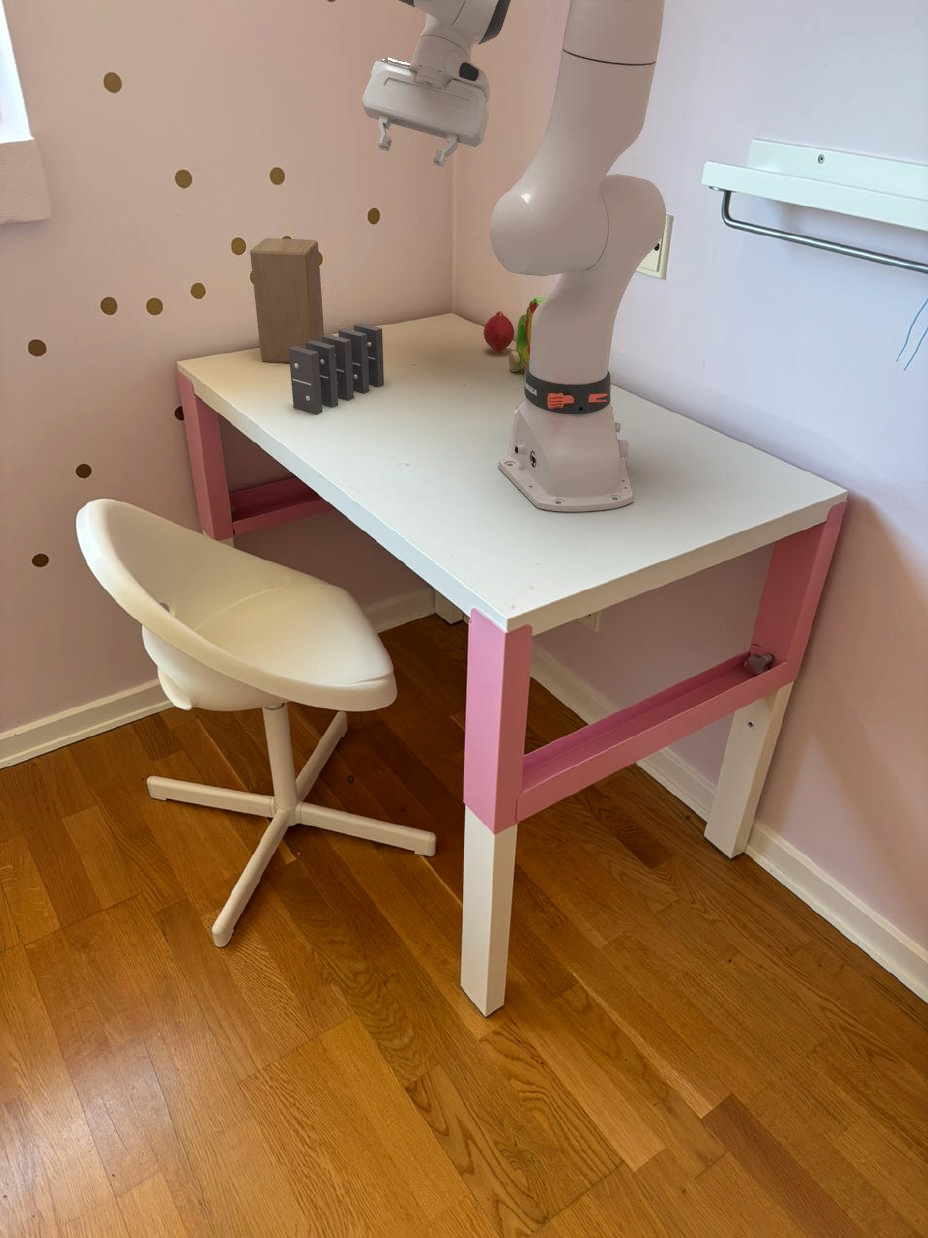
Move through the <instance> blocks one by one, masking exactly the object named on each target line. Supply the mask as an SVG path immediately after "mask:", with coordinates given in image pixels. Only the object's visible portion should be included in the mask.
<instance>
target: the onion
mask: <svg viewBox="0 0 928 1238" xmlns="http://www.w3.org/2000/svg"><path fill="white" fill-rule="evenodd" d="M483 337H484V340H485V342H486V344H487V345H488V346H489V347H490V348H492V350H494V352H496V353H501V352H502V351H504V350H505V349H507V348H508V346H509V345H510V344H511V343H512V342H513V341H514V339H515V338H514V337H515V329H514V326H513V323H512V322H511V320H510V318H508V317H507V316H506V315H504V313H503V311H502V310H497V312H496V314H495V315H493V316H491V317H490V318H489V319H488V321H487V322H486V324H485V325H484V328H483Z"/></svg>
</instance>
